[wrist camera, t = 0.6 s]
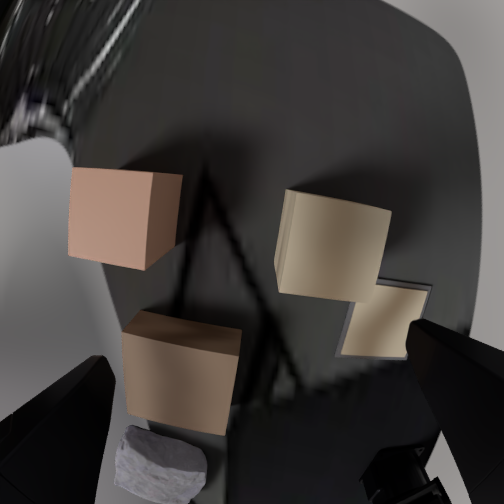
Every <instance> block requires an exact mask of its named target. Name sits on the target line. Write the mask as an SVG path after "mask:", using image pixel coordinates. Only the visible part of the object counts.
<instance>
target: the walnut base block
mask: <svg viewBox="0 0 504 504" xmlns="http://www.w3.org/2000/svg"><path fill="white" fill-rule="evenodd" d="M241 335H242V330H240V329H234V328H228V327H222V326H216V325H211V324H205V323H200V322H194V321H189V320H184V319H179V318H174V317H169V316H165V315H160V314H155V313H151V312H146V311H142V310H140V311H139V312H138V313H137V315H136V316H135V317H134V318H133V319H132V320H131V322H130V323H129V324H128V325H127V326H126V327H125V328H124V330H123V331H122V354H123V370H124V382H125V393H126V403H127V411H128V414H130V415H134V416H137V417H141V418H145V419H148V420H152V421H156V422H159V423H163V424H168V425H172V426H176V427H181V428H185V429H190V430H195V431H200V432H206V433H211V434H217V435H224V436H225V432H226V426H227V421H228V415H229V410H230V404H231V398H232V393H233V387H234V382H235V376H236V370H237V365H238V359H239V352H240V343H241Z"/></svg>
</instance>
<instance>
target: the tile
mask: <svg viewBox="0 0 504 504" xmlns="http://www.w3.org/2000/svg"><path fill="white" fill-rule="evenodd" d="M431 287H432V286H429V285H422V284H414V283H407V282H400V281H393V280H386V279H379V278H377V281H376V284H375V288H374V292H373V296H372V299H371V303H370V304H368V303H360V302H351V301H350V303H349V307H348V311H347V314H346V318H345V321H344V325H343V328H342V332H341V335H340V338H339V342H338V345H337V348H336V352H335V355H334V356H335V357H343V358H360V359H384V360H406V359H407V356H408V353H407V351H406V347H405V343H406V338H407V333H408V328H409V324H410V322H411V321H413V320H417V319H421V318H422V316H423V313H424V310H425V307H426V304H427V301H428V297H429V294H430V291H431Z"/></svg>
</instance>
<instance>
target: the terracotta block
mask: <svg viewBox="0 0 504 504" xmlns="http://www.w3.org/2000/svg"><path fill="white" fill-rule="evenodd" d="M182 177H183V175H178V174H168V173H158V172H147V171H135V170H122V169H103V168H73V169H72V179H71V191H70V206H69V207H70V208H69V233H68V234H69V235H68V240H69V241H68V242H69V243H68V252H69V253H68V255H69V256H73V257H78V258H82V259H87V260H92V261H97V262H103V263H108V264H113V265H118V266H123V267H129V268H134V269H140V270H146V269H147V268H148V267H149V266H151V265H152V264H153V263H154V262H156V261H157V260H158V259H159V258H161V257H162V256H163V255H165V254H166V253H167V252H168V251H170V250H171V249H172V248H173V247H175V238H176V228H177V219H178V210H179V201H180V193H181V185H182Z"/></svg>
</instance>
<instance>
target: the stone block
mask: <svg viewBox="0 0 504 504" xmlns="http://www.w3.org/2000/svg"><path fill="white" fill-rule="evenodd" d="M115 462H116V463H115V466H116V476H115V479H114V484H115V485H116V486H120V487H122V488H124V489H126V490H128V491H129V492H131V493H133V494H136V495H138V496H139V497H141V498H144V499H147V500H150V501H154V502H156V503H163V504H187V503H189V502H190V499H191V498H193V497H195V496H196V495H197V494H198V493H199V492H200V490H201V489H202V487H203V486H204V485H205V483H206V475H207V461H206V456H205V455H204V453H203V451H202V450H201V449H199V448H197V447H195V446H192V445H190V444H188V443H186V442H184V441H181V440H177V439H173V438H169V437H165V436H161V435H158V434H155V433H154V432H151V431H150V430H147V429H144V428H141V427H138V426H134V425H130V426H128V427H127V428H126V430H125V433H124V434H123V436H122V438H121V440H120V442H119V445H118V448H117V453H116V458H115Z"/></svg>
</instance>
